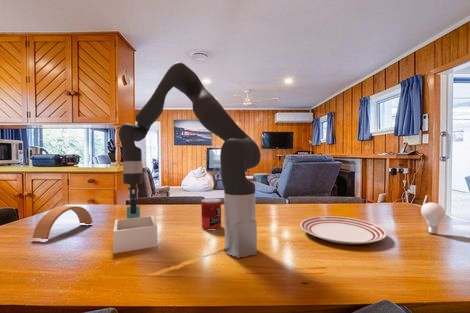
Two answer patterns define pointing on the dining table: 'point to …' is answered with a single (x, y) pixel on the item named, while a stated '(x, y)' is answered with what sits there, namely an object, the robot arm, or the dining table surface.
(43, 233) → the arch
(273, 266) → the dining table surface
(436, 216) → the lightbulb
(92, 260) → the dining table surface
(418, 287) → the dining table surface
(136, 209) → the lid
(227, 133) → the robot arm
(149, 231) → the tub
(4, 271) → the dining table surface
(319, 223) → the dinner plate
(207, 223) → the canned food
